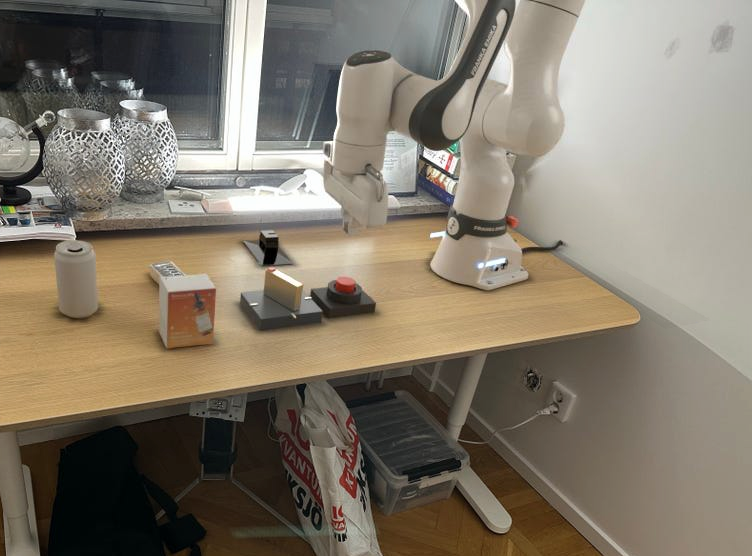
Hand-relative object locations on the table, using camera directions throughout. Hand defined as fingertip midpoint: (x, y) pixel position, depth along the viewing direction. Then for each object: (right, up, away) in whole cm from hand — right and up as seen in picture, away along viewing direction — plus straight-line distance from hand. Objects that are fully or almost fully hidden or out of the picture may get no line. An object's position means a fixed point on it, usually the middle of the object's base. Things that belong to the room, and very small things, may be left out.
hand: (349, 233), depth 119 cm
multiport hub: (-33, -9, +6) cm, 35 cm away
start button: (-1, -9, +6) cm, 11 cm away
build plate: (-16, 0, +24) cm, 29 cm away
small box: (-28, -19, -9) cm, 35 cm away
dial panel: (-13, -14, +2) cm, 19 cm away
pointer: (-12, -12, +1) cm, 17 cm away
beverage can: (-47, -15, -5) cm, 50 cm away
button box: (-1, -12, +8) cm, 15 cm away
